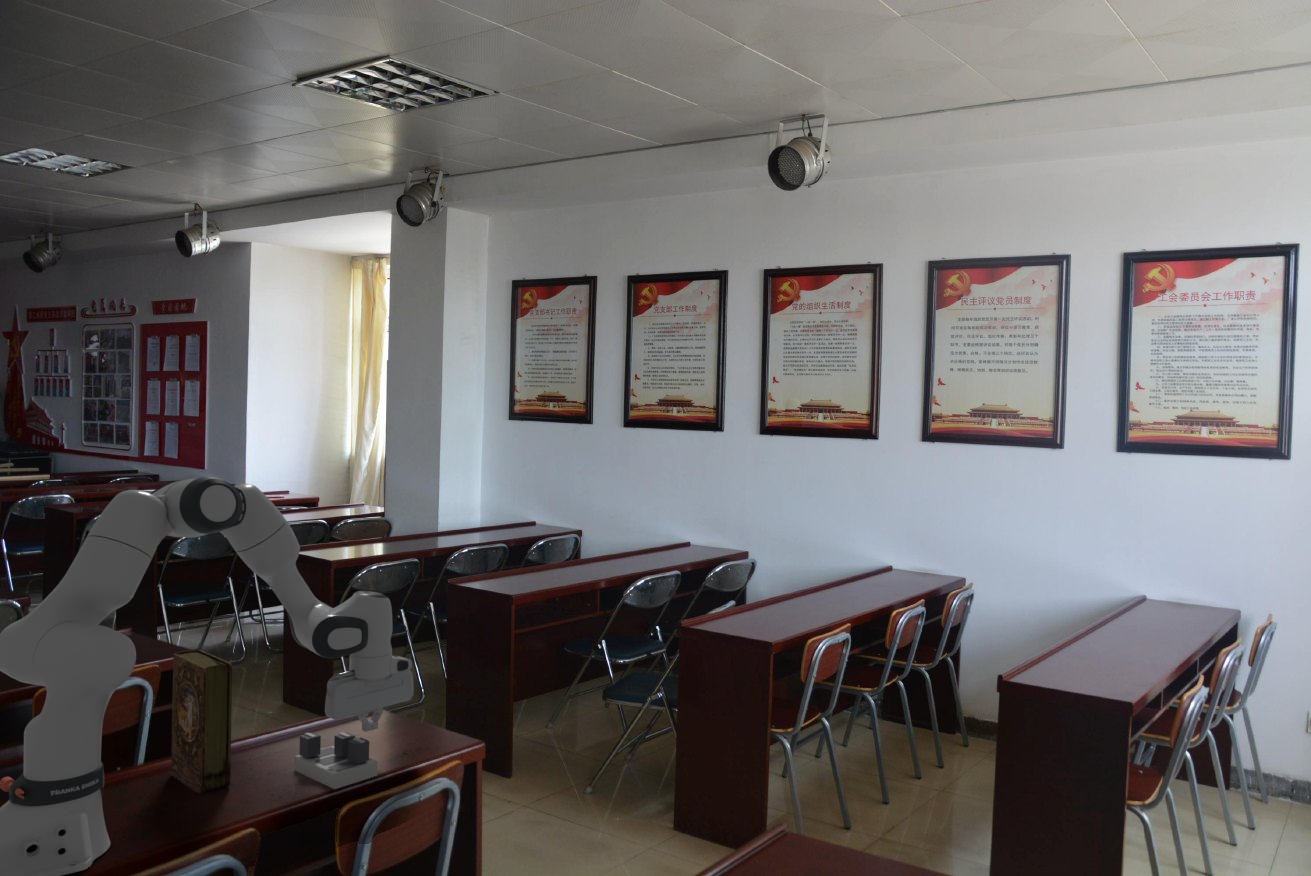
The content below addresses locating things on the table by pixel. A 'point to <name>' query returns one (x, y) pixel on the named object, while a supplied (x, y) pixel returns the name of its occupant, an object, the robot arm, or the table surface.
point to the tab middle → (342, 744)
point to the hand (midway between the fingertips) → (369, 729)
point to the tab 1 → (310, 745)
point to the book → (201, 720)
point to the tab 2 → (358, 750)
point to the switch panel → (335, 768)
